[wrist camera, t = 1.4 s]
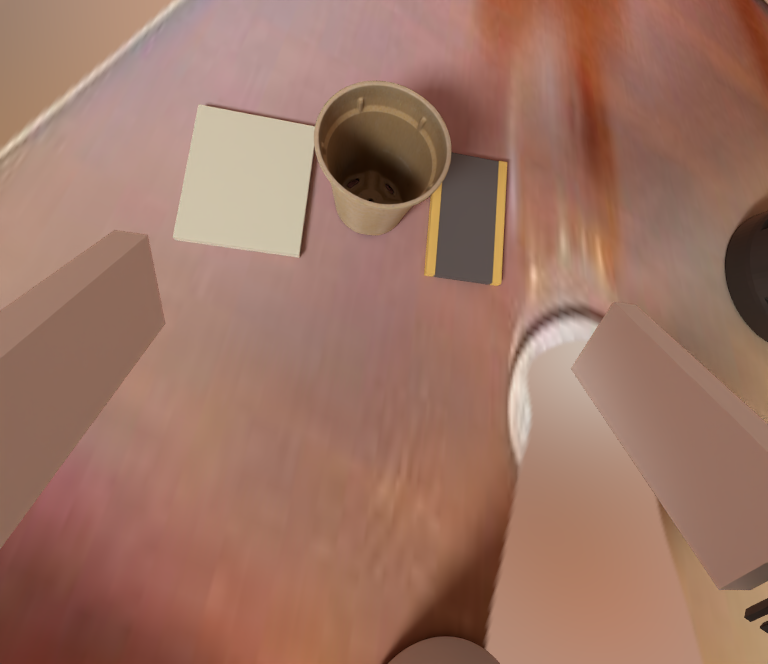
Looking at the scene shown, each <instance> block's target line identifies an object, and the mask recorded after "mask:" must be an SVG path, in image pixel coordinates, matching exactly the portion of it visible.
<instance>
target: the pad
mask: <svg viewBox="0 0 768 664" xmlns="http://www.w3.org/2000/svg"><path fill="white" fill-rule="evenodd" d="M314 129H315V126H310V125H305V124H299V123H294V122H289V121H283V120H278V119H273V118H268V117H262V116H257V115H252V114H247V113H241V112H236V111H231V110H226V109H220V108H215V107H210V106H205V105H198V110H197V115H196V120H195V125H194V130H193V136H192V141H191V146H190V151H189V156H188V161H187V167H186V172H185V177H184V182H183V187H182V192H181V198H180V203H179V208H178V213H177V218H176V223H175V229H174V234H173V238H174V239H175V240H179V241H186V242H193V243H200V244H207V245H214V246H221V247H228V248H235V249H242V250H249V251H256V252H264V253H271V254H278V255H285V256H292V257H299V258H300V251H301V243H302V236H303V229H304V222H305V214H306V207H307V200H308V192H309V185H310V178H311V171H312V163H313V156H314V149H315V147H314Z"/></svg>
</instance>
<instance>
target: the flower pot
mask: <svg viewBox="0 0 768 664" xmlns="http://www.w3.org/2000/svg"><path fill="white" fill-rule="evenodd" d="M314 147H315V152H316V156H317V159H318V162H319V164H320V167H321V169H322V170H323V172H324V174H325V175H326V177H327V179H328V180H329V181H330V182H331V186H332V191H333V195H334V200H335V206H336V210H337V213H338V215H339V217H340V218H341V220H342V221H343V222H344V223H345V224H346V226H348V227H349V228H350V229H352V230H353V231H355V232H357V233H360V234H366V235H375V236H376V235H381V234H385V233H387V232H389V231H391V230H392V229H393V228H394V227H396V225H397V224H398V223H399V222H400V220H401V219H402V218H403V217H404V215H405V214H406V213H407V212H408V211H409V209H410V208H411V207H412V206H414V205H416V204H419V203H420V202H422V201H424V200H425V199H427V198H428V197H429V196H431V195H432V194H433V193H434V192H435V191H436V190H437V189H438V187H439V186H440V185H441V183H442V182H443V180H444V179H445V177H446V174H447V172H448V169H449V166H450V162H451V139H450V136H449V132H448V129H447V127H446V125H445V123H444V121H443V119H442V117H441V116H440V114H439V112H438V111H437V110H436V109H435V108H434V106H432V105H431V104H430V103H429V102H428V101H427V100H426V99H425V98H423V97H422V96H421V95H419V94H418V93H416V92H414V91H413V90H411V89H408V88H407V87H404V86H401V85H399V84H395V83H391V82H386V81H364V82H359V83H356V84H353V85H350V86H347V87H345V88H344V89H342V90H340V91H339V92H337V93H336V94H335V95H333V96H332V97H331V98H330V99H329V100H328V101H327V103H326V104H325V105H324V107H323V108H322V110H321V112H320V114H319V116H318V118H317V120H316V124H315V129H314ZM355 179H358V180H359V182H358V183H357V184H356V185H354V186H353V187H351V188H349V187H348V186H347V185H348V183H349V182H351V181H354V180H355ZM386 184H388V185H389V186H390V187H391V188H392V190H393V192H394V193H393V194H392V193H391V192H390V191H388V189H387V187H386V186H385V185H386ZM369 199H372V200H373V202H370V201H368V200H369Z"/></svg>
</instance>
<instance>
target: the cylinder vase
mask: <svg viewBox="0 0 768 664" xmlns="http://www.w3.org/2000/svg"><path fill="white" fill-rule="evenodd" d="M388 664H500V663H499V662H498V661H497V660H496V659H495V658H494V657H493V656H492V655H491V654H490V653H489V652H488V651H486V650H485V649H484V648H482V647H480V646H479V645H477V644H475V643H473V642H471V641H468V640H465V639H462V638H457V637H449V636H442V637H433V638H429V639H425V640H422V641H419V642H417V643H415V644H413V645H411V646H409V647H407V648H406V649H404V650H403V651H401V652H400V653H399V654H398V655H396V656H395V657H394V658H393V659H392V660H391V661H390V662H389V663H388Z"/></svg>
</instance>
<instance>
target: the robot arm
mask: <svg viewBox="0 0 768 664" xmlns="http://www.w3.org/2000/svg"><path fill="white" fill-rule="evenodd" d="M726 278H727V284H728V288H729V291H730V294H731V297H732V300H733V302H734V304H735V306H736V308H737V310H738V312H739V313H740V315H741V317H742V318H743V319H744V321H745V322H746V323H747V325H748V326H749V327H750V328H751V329H752V330H753V331H754V332H755V333H756V334H757V335H759V336H760V337H761V338H762V339H764V340H765V341H767V342H768V211H766V212H763V213H761V214H758V215H756V216H753V217H751V218H749V219H748V220H746V221H745V222H744V223H743V224H742V225H741V226H740V227H739V228H738V229H737V230H736V232H735V233H734V235H733V237H732V239H731V241H730V244H729V247H728V250H727V256H726ZM164 325H165V319H164V314H163V309H162V304H161V299H160V294H159V289H158V284H157V279H156V274H155V269H154V264H153V259H152V254H151V249H150V244H149V239H148V235H146V234H139V233H132V232H125V231H118V230H114V231H113V232H111V233H110V234H108V235H107V236H106V237H104V238H103V239H101V240H100V241H98V242H97V243H96V244H94V245H93V246H91V247H90V248H89V249H87V250H86V251H84V252H83V253H81V254H80V255H79V256H77V257H76V258H74V259H73V260H72V261H70V262H69V263H67V264H66V265H64V266H63V267H62V268H60V269H59V270H57V271H56V272H55V273H53V274H52V275H50V276H49V277H47V278H46V279H45V280H43V281H42V282H40V283H39V284H38V285H36V286H35V287H33V288H32V289H30V290H29V291H28V292H26V293H25V294H23V295H22V296H21V297H19V298H18V299H16V300H15V301H13V302H12V303H11V304H9V305H8V306H6V307H5V308H4V309H2V310H1V311H0V549H1V547H2V546H3V544H4V543H5V542H6V540H7V539H8V538H9V536H10V535H11V534H12V532H13V531H14V529H15V528H16V527H17V525H18V524H19V523H20V521H21V520H22V519H23V517H24V516H25V514H26V513H27V512H28V510H29V509H30V508H31V506H32V505H33V504H34V502H35V501H36V499H37V498H38V497H39V495H40V494H41V493H42V491H43V490H44V489H45V487H46V486H47V484H48V483H49V482H50V480H51V479H52V478H53V476H54V475H55V473H56V472H57V471H58V469H59V468H60V467H61V465H62V464H63V463H64V461H65V460H66V458H67V457H68V456H69V454H70V453H71V452H72V450H73V449H74V448H75V446H76V445H77V443H78V442H79V441H80V439H81V438H82V437H83V435H84V434H85V433H86V431H87V430H88V428H89V427H90V426H91V424H92V423H93V422H94V420H95V419H96V417H97V416H98V415H99V413H100V412H101V411H102V409H103V408H104V407H105V405H106V404H107V402H108V401H109V400H110V398H111V397H112V396H113V394H114V393H115V392H116V390H117V389H118V387H119V386H120V385H121V383H122V382H123V381H124V379H125V378H126V377H127V375H128V374H129V372H130V371H131V370H132V368H133V367H134V366H135V364H136V363H137V362H138V360H139V359H140V357H141V356H142V355H143V353H144V352H145V351H146V349H147V348H148V346H149V345H150V344H151V342H152V341H153V340H154V338H155V337H156V336H157V334H158V333H159V331H160V330H161V329H162V327H163V326H164ZM571 370H572V371H573V373H574V374H575V376H576V377H577V378H578V380H579V381H580V383H581V385H582V386H583V388H584V389H585V391H586V392H587V393H588V395H589V396H590V398H591V400H592V401H593V403H594V404H595V406H596V407H597V409H598V410H599V412H600V413H601V414H602V416H603V418H604V419H605V420H606V422H607V423H608V425H609V426H610V428H611V430H612V431H613V432H614V434H615V435H616V437H617V438H618V440H619V441H620V443H621V444H622V446H623V447H624V449H625V450H626V452H627V453H628V455H629V456H630V458H631V459H632V461H633V462H634V464H635V465H636V467H637V468H638V470H639V471H640V473H641V474H642V476H643V477H644V479H645V480H646V482H647V483H648V485H649V486H650V488H651V489H652V491H653V492H654V494H655V495H656V497H657V498H658V500H659V501H660V503H661V504H662V506H663V507H664V509H665V510H666V512H667V513H668V515H669V516H670V518H671V519H672V521H673V522H674V524H675V525H676V527H677V528H678V530H679V531H680V533H681V534H682V536H683V537H684V539H685V540H686V542H687V543H688V545H689V546H690V548H691V549H692V551H693V552H694V554H695V555H696V556H697V558H698V559H699V561H700V562H701V564H702V565H703V567H704V568H705V570H706V571H707V573H708V574H709V576H710V577H711V579H712V580H713V582H714V583H715V585H716V586H717V588H718V589H719V590H751V589H753V588H755V587H757V586H759V585H761V584H763V583H765V582H767V581H768V424H767V423H766V422H765V421H764V420H763V419H761V418H760V417H759V416H758V415H757V414H756V413H755V412H754V411H753V410H752V409H750V408H749V407H748V406H747V405H746V404H745V403H744V402H743V401H742V400H741V399H739V398H738V397H737V396H736V395H735V394H734V393H733V392H732V391H731V390H729V389H728V388H727V387H726V386H725V385H724V384H723V383H722V382H721V381H720V380H718V379H717V378H716V377H715V376H714V375H713V374H712V373H711V372H710V371H709V370H707V369H706V368H705V367H704V366H703V365H702V364H701V363H700V362H699V361H697V360H696V359H695V358H694V357H693V356H692V355H691V354H690V353H689V352H688V351H686V350H685V349H684V348H683V347H682V346H681V345H680V344H679V343H678V342H677V341H675V340H674V339H673V338H672V337H671V336H670V335H669V334H668V333H667V332H666V331H664V330H663V329H662V328H661V327H660V326H659V325H658V324H657V323H656V322H654V321H653V320H652V319H651V318H650V317H649V316H648V315H647V314H646V313H645V312H643V311H642V310H641V309H640V308H639V307H638V306H637V305H634V304H627V303H620V302H613V303H612V305H611V306H610V308H609V310H608V311H607V313H606V314H605V316H604V317H603V319H602V321H601V322H600V324H599V325H598V327H597V328H596V330H595V332H594V333H593V335H592V336H591V338H590V339H589V341H588V343H587V344H586V346H585V347H584V349H583V350H582V352H581V354H580V355H579V357H578V358H577V360H576V361H575V363H574V365H573V366H572V368H571ZM767 614H768V598H767V599H765V600H763V601H761V602H759V603H757V604H755V605H753V606H751V607H749V608H747V609H746V611H745V617H744V618H746V619H747V620H749V621H750V622H751V621H754V620H756V619H758V618H760V617H762V616H765V615H767ZM760 628H761V629H762V630H764V631H765V632H767V633H768V621H766V622H764V623H763V624H762V625H761V626H760Z"/></svg>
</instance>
